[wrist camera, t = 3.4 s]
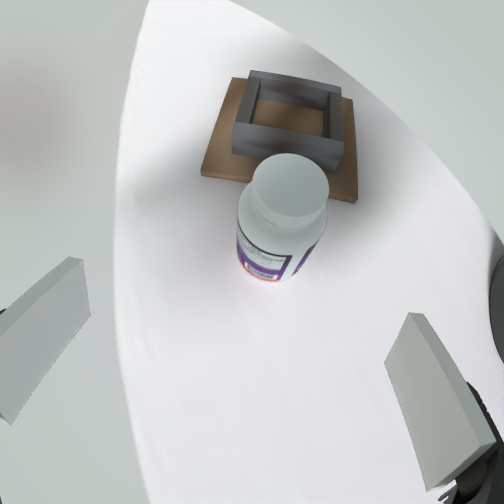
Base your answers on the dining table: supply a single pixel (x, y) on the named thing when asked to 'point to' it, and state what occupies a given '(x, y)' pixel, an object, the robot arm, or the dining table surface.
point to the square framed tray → (284, 130)
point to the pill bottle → (281, 216)
